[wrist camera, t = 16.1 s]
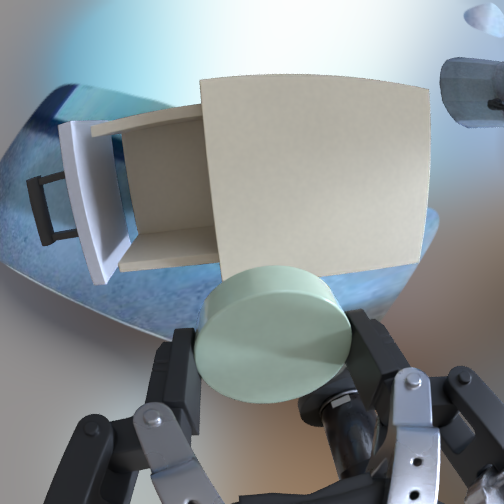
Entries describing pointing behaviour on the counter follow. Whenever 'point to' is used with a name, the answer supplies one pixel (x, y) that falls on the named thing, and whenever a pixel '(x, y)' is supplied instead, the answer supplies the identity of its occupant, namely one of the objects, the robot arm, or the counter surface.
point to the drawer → (135, 192)
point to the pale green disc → (270, 335)
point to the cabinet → (316, 171)
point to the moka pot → (473, 91)
